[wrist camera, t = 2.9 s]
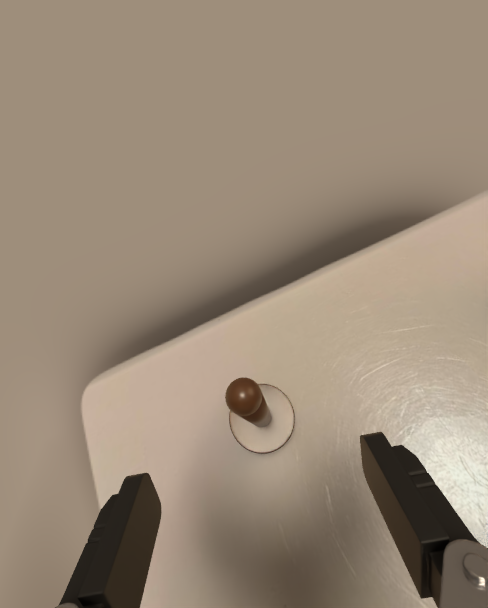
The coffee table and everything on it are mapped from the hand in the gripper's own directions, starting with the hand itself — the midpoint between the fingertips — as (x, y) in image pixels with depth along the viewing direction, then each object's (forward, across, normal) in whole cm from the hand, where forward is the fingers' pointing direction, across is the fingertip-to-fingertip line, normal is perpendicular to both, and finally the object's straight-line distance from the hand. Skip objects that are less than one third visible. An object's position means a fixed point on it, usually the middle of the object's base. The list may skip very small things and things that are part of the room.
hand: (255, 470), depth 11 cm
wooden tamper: (+12, 0, +8) cm, 15 cm away
